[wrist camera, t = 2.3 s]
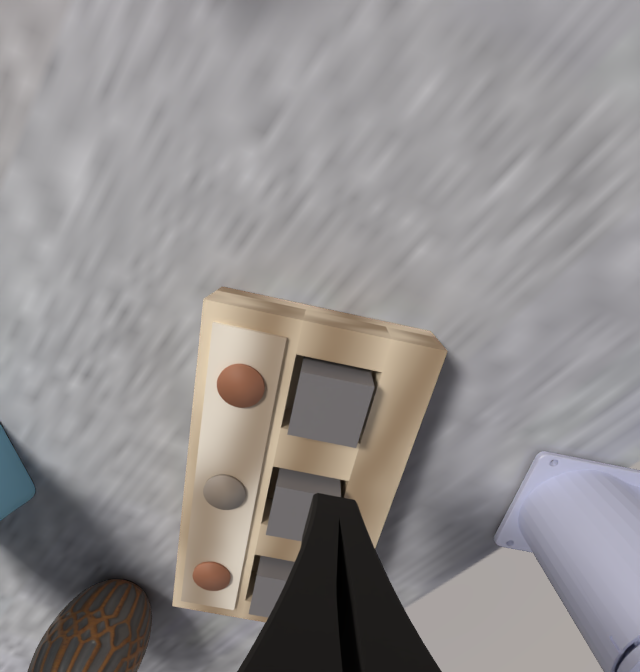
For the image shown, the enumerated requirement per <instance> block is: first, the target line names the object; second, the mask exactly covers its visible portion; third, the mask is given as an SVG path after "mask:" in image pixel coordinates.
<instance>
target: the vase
mask: <svg viewBox="0 0 640 672" xmlns="http://www.w3.org/2000/svg"><path fill="white" fill-rule="evenodd" d="M151 626H152V613H151V607H150V604H149V601H148V598H147V596H146V594H145V592H144V591H143V590H142V589H141V588H140V587H139V586H137V585H136V584H134V583H132V582H130V581H126V580H121V579H112V580H107V581H104V582H101V583H98V584H96V585H93V586H92V587H90V588H88V589H86V590H84V591H83V592H82V593H80V594H79V595H78V596H77V597H75V598H74V599H73V600H72V601H71V602H70V603H69V604H68V605H67V606H66V607H65V608H64V609H63V610H62V611H61V612H60V613H59V615H58V616H57V617H56V619H55V620H54V621H53V623H52V624H51V625H50V627H49V628H48V630H47V631H46V633H45V634H44V636H43V637H42V639H41V641H40V643H39V645H38V647H37V649H36V651H35V653H34V656H33V658H32V661H31V663H30V666H29V669H28V672H137V671H138V669H139V667H140V664H141V662H142V659H143V657H144V654H145V652H146V649H147V646H148V642H149V638H150V633H151Z"/></svg>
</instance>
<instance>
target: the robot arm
mask: <svg viewBox="0 0 640 672" xmlns="http://www.w3.org/2000/svg"><path fill="white" fill-rule="evenodd" d="M552 460H553V461H552ZM551 461H552V462H551ZM494 541H495V543H496V544H497V545H498V546H501V547H506V548H511V549H517V550H522V551H527V552H533V553H534V555H535V557H536V559H537V560H538V562H539V564H540V565H541V567H542V568H543V570H544V572H545V574H546V575H547V577H548V579H549V580H550V582H551V584H552V586H553V587H554V589H555V591H556V592H557V594H558V596H559V597H560V599H561V601H562V602H563V604H564V606H565V607H566V609H567V611H568V612H569V614H570V616H571V617H572V619H573V621H574V622H575V624H576V626H577V627H578V629H579V631H580V632H581V634H582V636H583V638H584V639H585V641H586V642H587V644H588V646H589V647H590V649H591V651H592V652H593V654H594V656H595V658H596V659H597V660H598V662H599V664H600V666H601V668H602V669H603V671H604V672H640V470H635V469H631V468H626V467H621V466H616V465H611V464H606V463H601V462H596V461H591V460H586V459H581V458H576V457H571V456H566V455H562V454H557V453H552V452H547V451H543V452H540V453H538V454H537V455H536V457H535V459H534V461H533V462H532V464H531V466H530V468H529V470H528V472H527V474H526V476H525V478H524V480H523V482H522V484H521V486H520V487H519V489H518V491H517V493H516V495H515V497H514V499H513V501H512V503H511V505H510V507H509V509H508V511H507V513H506V514H505V516H504V518H503V520H502V522H501V524H500V526H499V528H498V530H497V532H496V534H495V536H494ZM237 672H441V670H440V669H439V667H438V665H437V664H436V662H435V661H434V659H433V657H432V656H431V655H430V653H429V651H428V650H427V648H426V646H425V645H424V643H423V641H422V640H421V638H420V636H419V635H418V633H417V631H416V629H415V628H414V626H413V624H412V623H411V621H410V619H409V617H408V616H407V614H406V612H405V610H404V608H403V606H402V604H401V602H400V600H399V598H398V597H397V595H396V593H395V591H394V589H393V587H392V585H391V583H390V581H389V579H388V577H387V574H386V572H385V570H384V568H383V566H382V564H381V561H380V559H379V557H378V555H377V553H376V550H375V548H374V546H373V543H372V541H371V538H370V536H369V534H368V531H367V529H366V526H365V523H364V521H363V518H362V515H361V513H360V510H359V507H358V504H357V502H356V501H355V500H353V499H348V498H343V497H337V496H332V495H327V494H322V493H316V494H314V495H313V498H312V502H311V505H310V509H309V513H308V517H307V520H306V524H305V528H304V532H303V536H302V542H301V548H300V551H299V553H298V556H297V558H296V560H295V563H294V565H293V567H292V570H291V572H290V574H289V577H288V579H287V581H286V583H285V585H284V588H283V590H282V592H281V594H280V596H279V598H278V600H277V602H276V604H275V606H274V608H273V610H272V612H271V614H270V616H269V617H268V619H267V621H266V623H265V625H264V627H263V628H262V630H261V632H260V634H259V636H258V637H257V639H256V641H255V643H254V645H253V646H252V648H251V650H250V651H249V653H248V655H247V657H246V658H245V660H244V662H243V663H242V665H241V666H240V668H239V670H238V671H237Z"/></svg>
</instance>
